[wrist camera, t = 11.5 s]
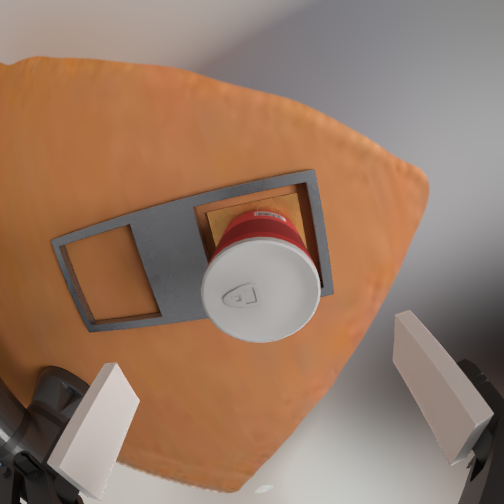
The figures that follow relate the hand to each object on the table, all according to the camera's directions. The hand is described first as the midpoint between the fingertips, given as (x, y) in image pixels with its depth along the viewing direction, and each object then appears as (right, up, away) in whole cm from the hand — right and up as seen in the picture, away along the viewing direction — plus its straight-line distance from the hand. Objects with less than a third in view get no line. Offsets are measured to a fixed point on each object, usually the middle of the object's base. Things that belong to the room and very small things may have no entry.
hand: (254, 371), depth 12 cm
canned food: (+1, +6, +17) cm, 18 cm away
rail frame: (-8, +4, +18) cm, 20 cm away
